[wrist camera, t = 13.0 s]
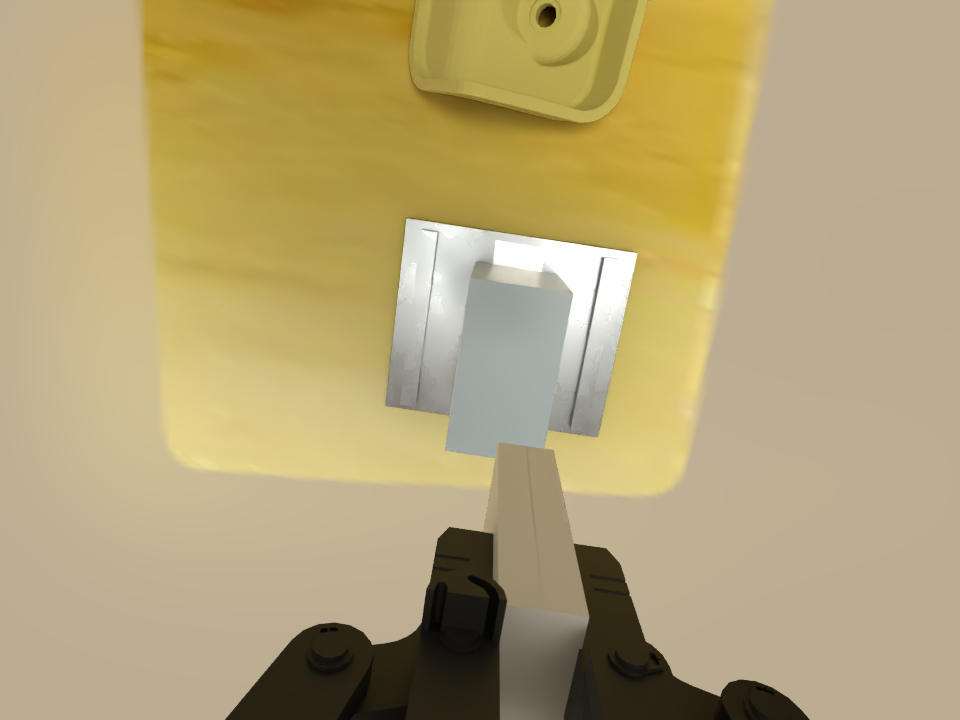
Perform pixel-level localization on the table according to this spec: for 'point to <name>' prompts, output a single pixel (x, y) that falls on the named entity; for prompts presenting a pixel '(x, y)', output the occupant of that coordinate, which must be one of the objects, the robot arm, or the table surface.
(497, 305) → the block
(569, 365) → the rail mount
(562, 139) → the table surface
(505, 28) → the plastic component
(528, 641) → the robot arm
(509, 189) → the table surface
